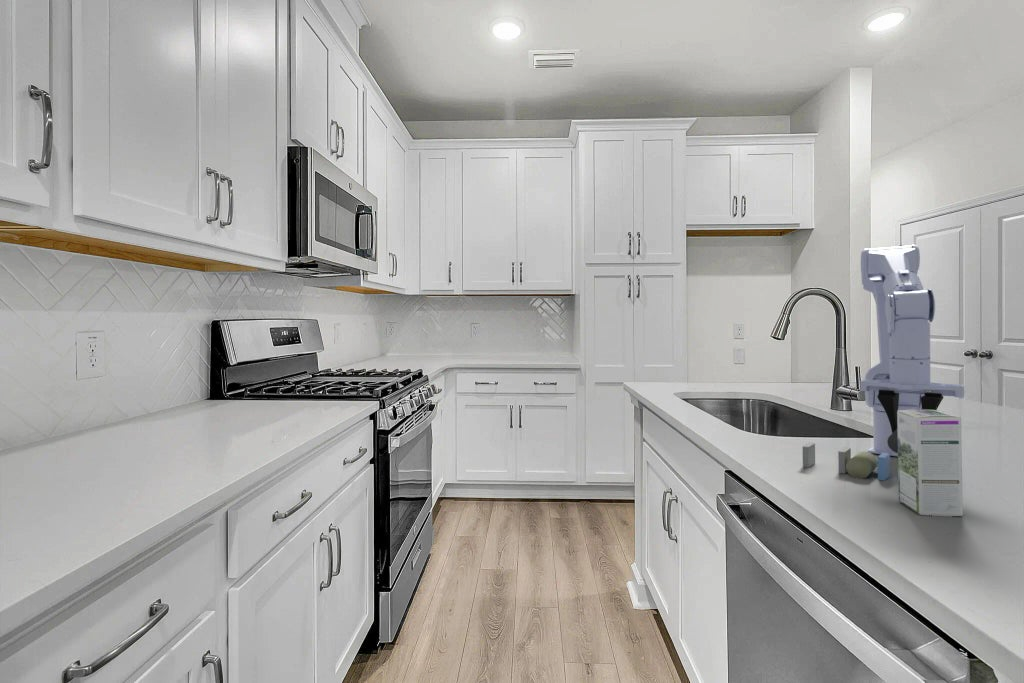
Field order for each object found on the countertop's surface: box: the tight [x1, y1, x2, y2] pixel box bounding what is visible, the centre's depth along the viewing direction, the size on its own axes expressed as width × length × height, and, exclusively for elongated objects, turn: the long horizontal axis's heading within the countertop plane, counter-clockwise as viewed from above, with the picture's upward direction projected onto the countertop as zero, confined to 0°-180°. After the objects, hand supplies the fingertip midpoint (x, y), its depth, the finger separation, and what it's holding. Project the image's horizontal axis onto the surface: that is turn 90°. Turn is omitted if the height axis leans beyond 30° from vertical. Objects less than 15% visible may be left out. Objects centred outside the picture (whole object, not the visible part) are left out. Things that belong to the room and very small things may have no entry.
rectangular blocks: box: [802, 442, 891, 481], centre depth 92 cm, size 4×19×4 cm, turn 43°
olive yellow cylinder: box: [846, 451, 878, 479], centre depth 92 cm, size 6×4×4 cm, turn 133°
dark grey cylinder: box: [887, 429, 898, 453], centre depth 89 cm, size 10×4×4 cm, turn 133°
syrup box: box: [897, 409, 964, 517], centre depth 75 cm, size 6×6×14 cm
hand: (909, 434), depth 91 cm, fingers closed on dark grey cylinder, 4 cm apart
